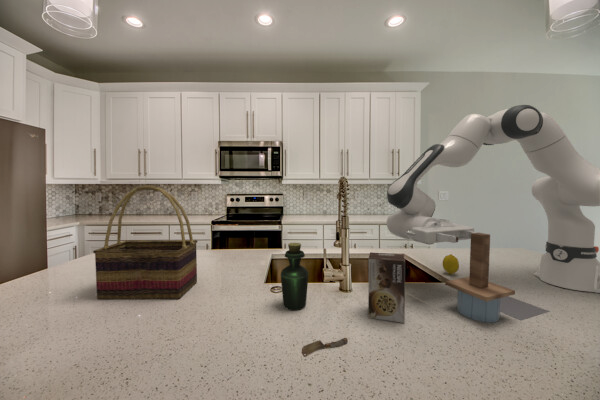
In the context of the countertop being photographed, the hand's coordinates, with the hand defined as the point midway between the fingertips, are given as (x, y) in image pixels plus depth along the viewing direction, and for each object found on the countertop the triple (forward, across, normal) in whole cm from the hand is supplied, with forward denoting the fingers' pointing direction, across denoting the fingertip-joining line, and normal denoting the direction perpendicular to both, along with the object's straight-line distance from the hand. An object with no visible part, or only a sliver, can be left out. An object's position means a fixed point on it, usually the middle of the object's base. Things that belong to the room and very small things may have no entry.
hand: (468, 238), depth 69 cm
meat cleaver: (0, -45, +21) cm, 49 cm away
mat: (+3, +13, +20) cm, 24 cm away
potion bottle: (-20, -44, +21) cm, 52 cm away
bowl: (+3, 0, +20) cm, 20 cm away
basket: (-47, -85, +21) cm, 99 cm away
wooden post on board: (+3, 0, +13) cm, 14 cm away
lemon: (-22, +22, +20) cm, 37 cm away
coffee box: (-6, -23, +20) cm, 31 cm away
